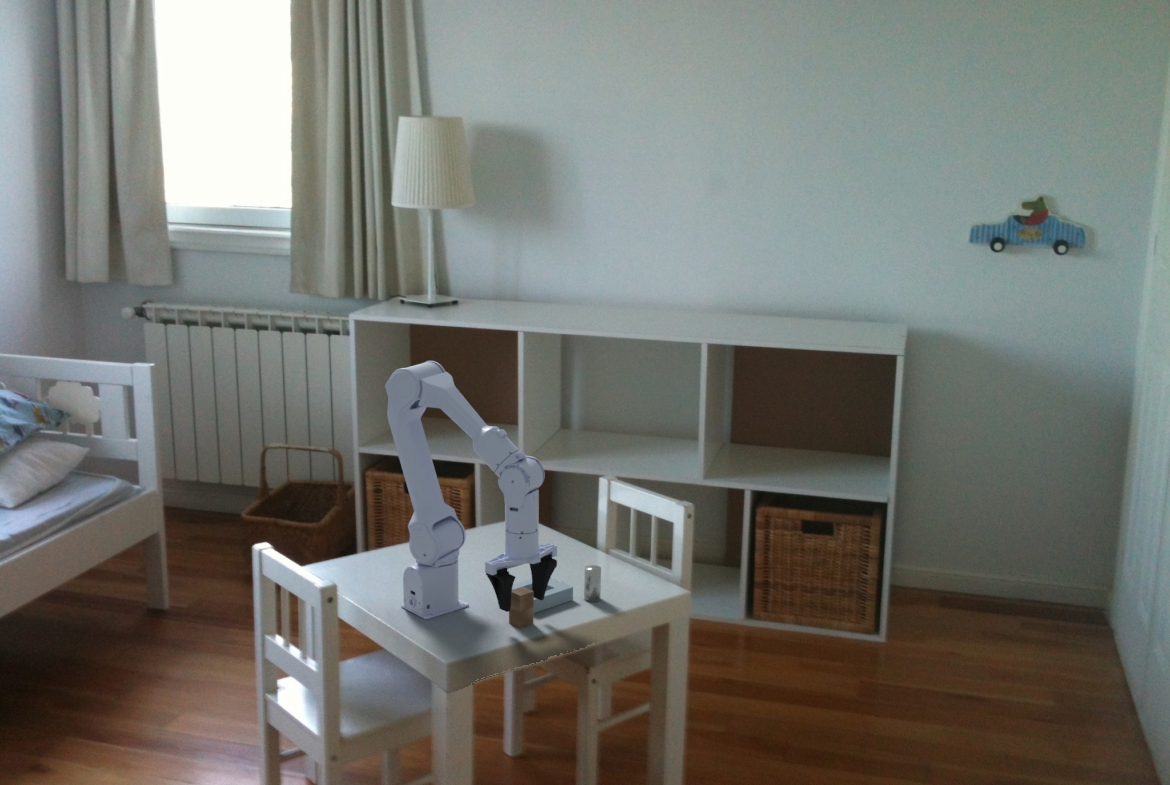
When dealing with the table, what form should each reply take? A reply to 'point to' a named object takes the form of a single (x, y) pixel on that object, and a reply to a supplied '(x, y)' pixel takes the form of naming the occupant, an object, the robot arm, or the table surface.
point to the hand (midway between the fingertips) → (521, 604)
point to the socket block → (549, 594)
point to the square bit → (521, 607)
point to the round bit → (592, 583)
